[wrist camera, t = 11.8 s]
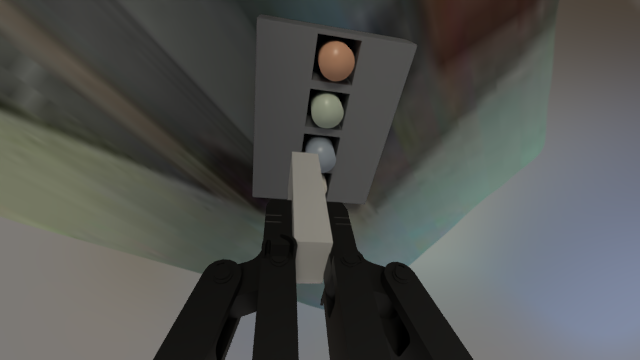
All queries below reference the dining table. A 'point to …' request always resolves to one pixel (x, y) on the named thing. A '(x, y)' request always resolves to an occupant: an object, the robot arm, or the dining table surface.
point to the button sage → (326, 109)
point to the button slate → (322, 151)
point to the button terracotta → (335, 59)
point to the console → (298, 78)
